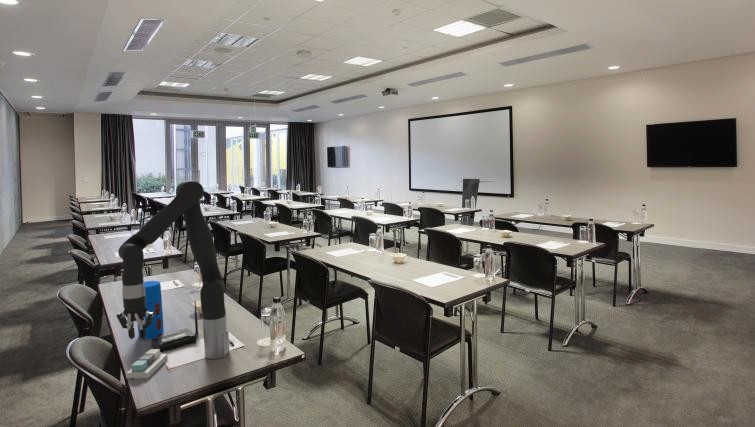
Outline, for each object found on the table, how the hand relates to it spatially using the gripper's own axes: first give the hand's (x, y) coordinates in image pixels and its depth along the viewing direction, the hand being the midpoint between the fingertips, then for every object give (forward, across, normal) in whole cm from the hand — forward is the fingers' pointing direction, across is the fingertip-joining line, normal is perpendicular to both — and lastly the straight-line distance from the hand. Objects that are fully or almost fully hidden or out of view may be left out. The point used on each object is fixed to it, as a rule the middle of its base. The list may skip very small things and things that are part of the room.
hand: (137, 337), depth 166 cm
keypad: (+15, 0, -5) cm, 16 cm away
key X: (+13, 0, -5) cm, 14 cm away
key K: (+13, 0, -10) cm, 17 cm away
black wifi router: (+16, -2, -30) cm, 34 cm away
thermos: (+15, +16, -39) cm, 45 cm away
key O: (+13, 0, 0) cm, 13 cm away
